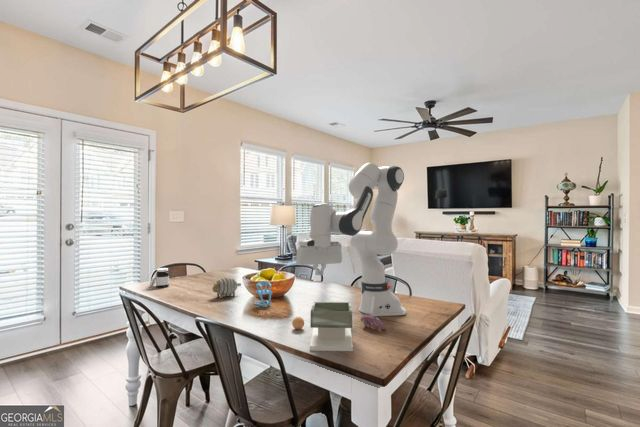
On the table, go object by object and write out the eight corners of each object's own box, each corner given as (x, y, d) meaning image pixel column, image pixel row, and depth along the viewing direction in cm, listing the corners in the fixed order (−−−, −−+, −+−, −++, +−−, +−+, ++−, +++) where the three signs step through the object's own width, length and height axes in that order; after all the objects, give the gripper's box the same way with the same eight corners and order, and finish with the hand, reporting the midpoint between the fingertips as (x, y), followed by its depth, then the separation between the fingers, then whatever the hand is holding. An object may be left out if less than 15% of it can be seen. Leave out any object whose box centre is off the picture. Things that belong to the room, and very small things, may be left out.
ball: (304, 327, 139) (304, 315, 139) (303, 331, 134) (303, 319, 134) (293, 326, 139) (293, 315, 139) (291, 331, 134) (291, 318, 134)
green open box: (315, 308, 145) (315, 294, 145) (348, 308, 144) (348, 295, 145) (310, 328, 116) (310, 311, 116) (352, 328, 115) (352, 312, 115)
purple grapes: (362, 329, 140) (357, 316, 138) (367, 322, 143) (363, 309, 141) (381, 335, 133) (377, 322, 131) (387, 328, 136) (383, 314, 134)
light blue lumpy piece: (260, 308, 167) (260, 284, 167) (253, 304, 174) (253, 281, 174) (274, 305, 172) (274, 282, 171) (267, 301, 178) (267, 279, 178)
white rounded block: (169, 287, 214) (169, 269, 214) (150, 289, 208) (150, 270, 208) (167, 283, 224) (167, 266, 224) (149, 285, 219) (149, 268, 219)
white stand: (315, 320, 147) (315, 301, 147) (349, 321, 147) (349, 301, 147) (309, 350, 115) (309, 326, 115) (352, 351, 115) (352, 326, 115)
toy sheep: (208, 297, 188) (208, 277, 188) (235, 292, 200) (235, 274, 200) (217, 301, 181) (217, 280, 180) (244, 295, 192) (244, 276, 192)
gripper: (337, 240, 145) (336, 272, 145) (294, 241, 136) (294, 275, 136) (345, 242, 140) (344, 274, 140) (301, 242, 130) (300, 277, 130)
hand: (319, 274), depth 137 cm, fingers closed
